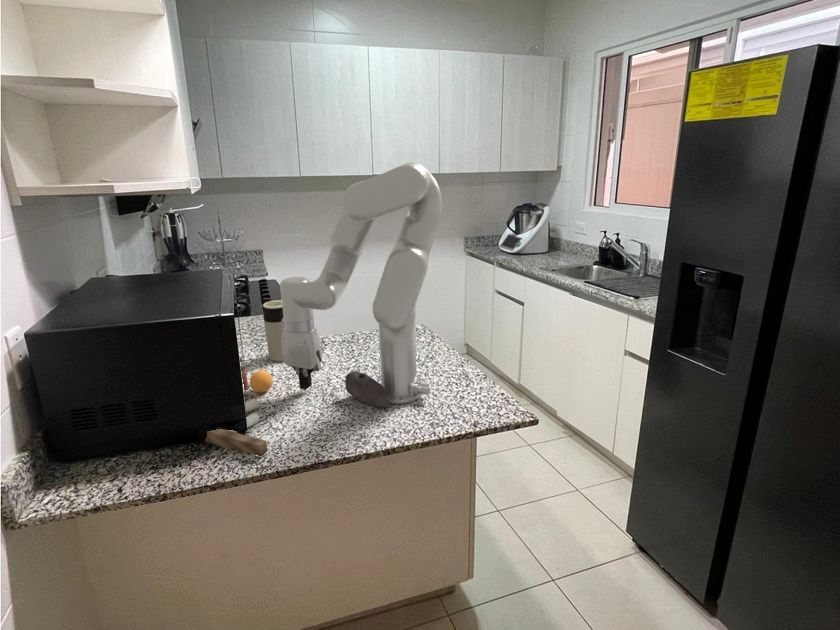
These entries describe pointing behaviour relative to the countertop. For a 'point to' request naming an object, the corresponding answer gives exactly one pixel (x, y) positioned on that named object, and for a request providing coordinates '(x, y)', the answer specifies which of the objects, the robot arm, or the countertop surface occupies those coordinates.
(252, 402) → the ivory pin
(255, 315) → the countertop surface
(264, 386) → the ball
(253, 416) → the sage pin
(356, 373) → the perforated stone tool
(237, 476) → the countertop surface
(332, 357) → the countertop surface
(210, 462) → the countertop surface
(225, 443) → the wall
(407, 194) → the robot arm
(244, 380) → the lighter
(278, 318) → the travel mug
